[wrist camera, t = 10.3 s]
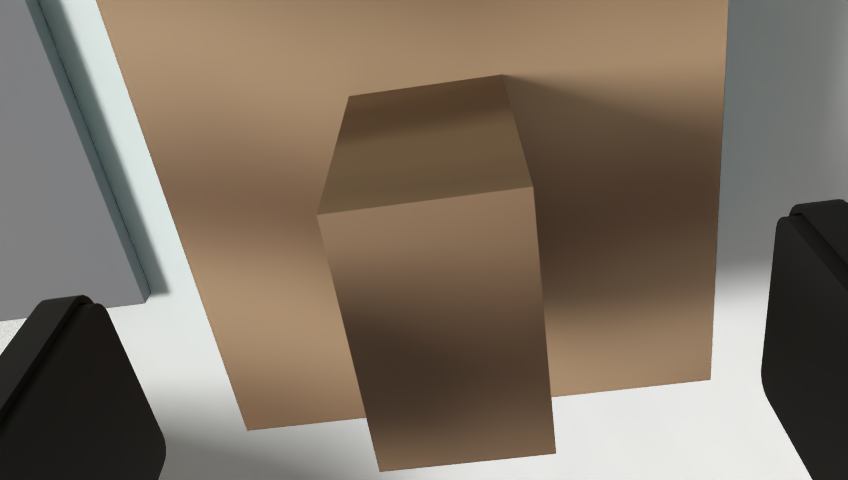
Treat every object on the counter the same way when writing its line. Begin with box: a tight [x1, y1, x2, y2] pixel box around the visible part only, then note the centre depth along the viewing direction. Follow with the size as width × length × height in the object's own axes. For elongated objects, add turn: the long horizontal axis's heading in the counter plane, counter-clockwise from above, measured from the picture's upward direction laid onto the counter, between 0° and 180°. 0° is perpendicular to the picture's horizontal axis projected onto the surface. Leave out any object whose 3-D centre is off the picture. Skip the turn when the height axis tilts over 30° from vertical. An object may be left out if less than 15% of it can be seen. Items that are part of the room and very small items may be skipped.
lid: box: [96, 0, 729, 472], centre depth 14 cm, size 12×12×6 cm
